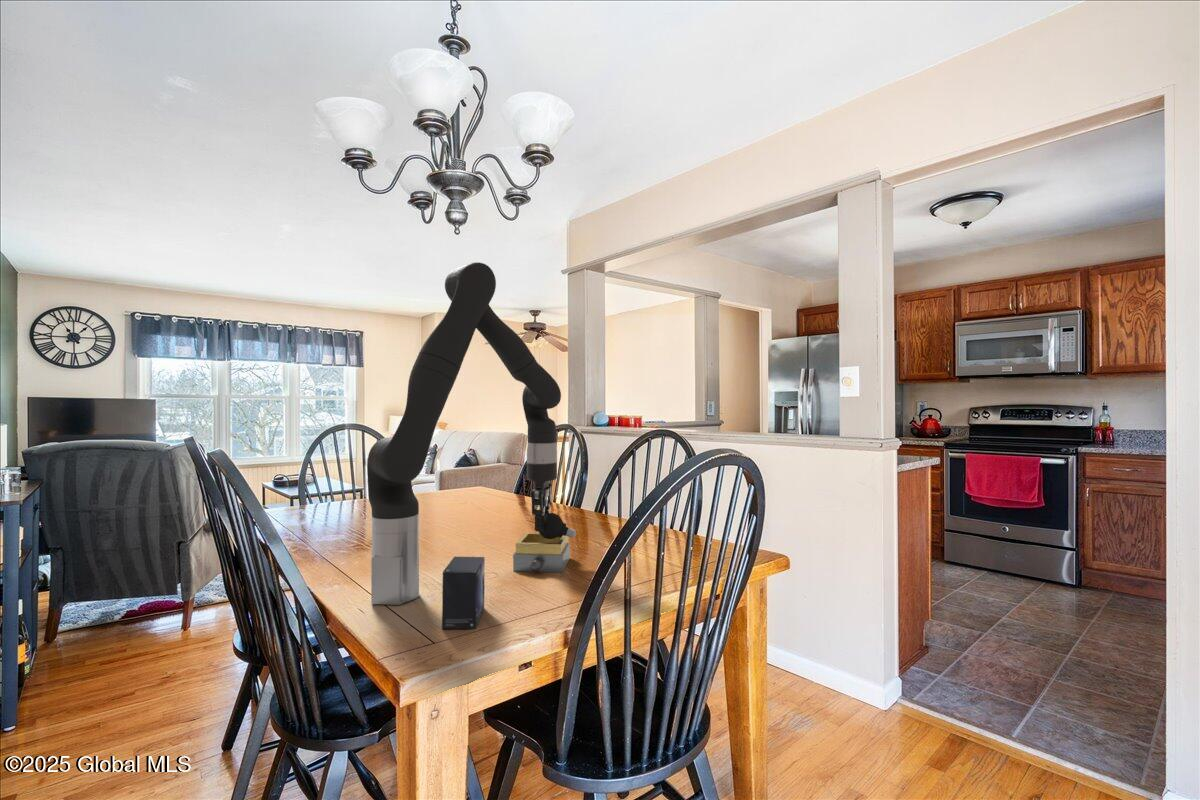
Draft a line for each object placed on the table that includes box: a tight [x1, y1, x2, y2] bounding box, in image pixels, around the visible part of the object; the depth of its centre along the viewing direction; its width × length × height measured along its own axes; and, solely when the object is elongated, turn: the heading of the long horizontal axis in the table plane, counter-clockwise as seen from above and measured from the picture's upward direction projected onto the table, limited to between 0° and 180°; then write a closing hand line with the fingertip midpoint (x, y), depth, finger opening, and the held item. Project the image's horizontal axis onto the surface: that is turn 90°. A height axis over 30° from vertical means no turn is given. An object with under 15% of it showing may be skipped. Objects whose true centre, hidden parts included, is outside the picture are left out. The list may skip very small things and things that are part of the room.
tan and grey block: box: [512, 532, 571, 573], centre depth 142 cm, size 15×12×6 cm
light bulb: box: [538, 512, 577, 539], centre depth 143 cm, size 6×6×10 cm
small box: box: [441, 556, 486, 630], centre depth 108 cm, size 11×6×10 cm, turn 3°
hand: (542, 527), depth 143 cm, fingers closed on light bulb, 6 cm apart
